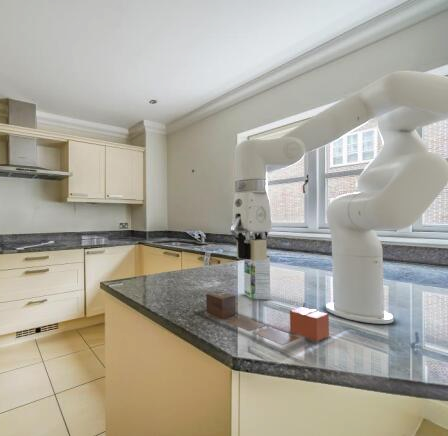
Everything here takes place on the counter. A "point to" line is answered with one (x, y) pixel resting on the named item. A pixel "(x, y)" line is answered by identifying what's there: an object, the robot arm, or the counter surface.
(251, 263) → the syrup box
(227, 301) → the dark wood block
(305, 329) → the orange block
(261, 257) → the cross-marked cream cube
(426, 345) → the counter surface
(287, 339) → the word board
